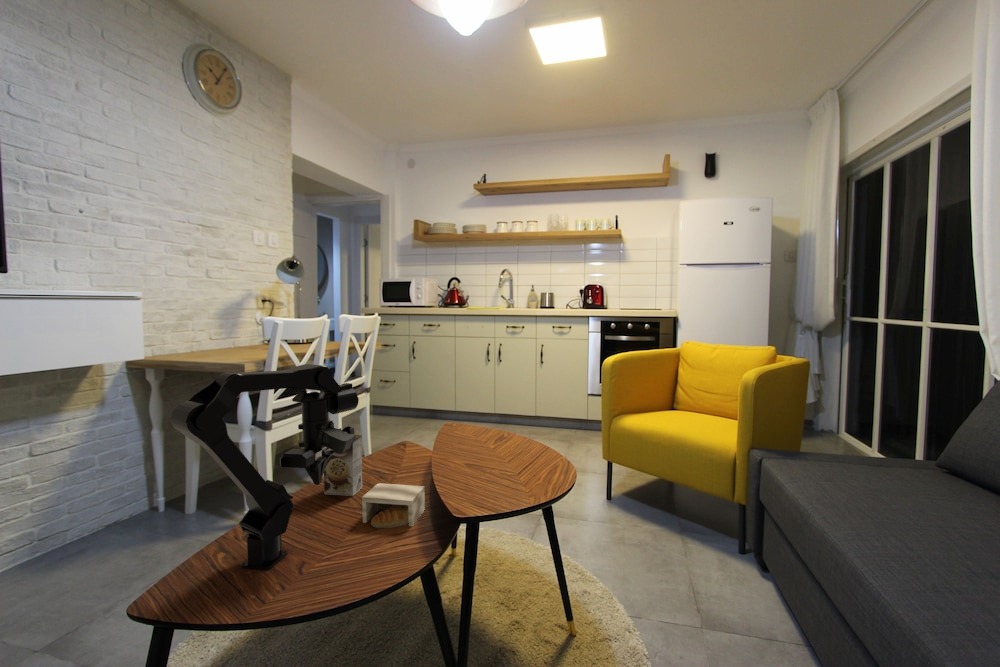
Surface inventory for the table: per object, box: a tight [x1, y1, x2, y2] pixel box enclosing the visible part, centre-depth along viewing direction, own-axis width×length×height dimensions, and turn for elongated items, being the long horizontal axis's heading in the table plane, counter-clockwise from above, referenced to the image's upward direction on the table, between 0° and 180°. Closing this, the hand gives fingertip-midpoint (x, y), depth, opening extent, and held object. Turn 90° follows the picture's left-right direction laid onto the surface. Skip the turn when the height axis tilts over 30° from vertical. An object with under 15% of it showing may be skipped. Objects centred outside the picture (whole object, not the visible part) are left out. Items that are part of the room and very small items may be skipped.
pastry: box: [370, 505, 409, 529], centre depth 111 cm, size 9×7×4 cm
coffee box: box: [323, 434, 363, 497], centre depth 130 cm, size 9×6×16 cm
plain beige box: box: [361, 483, 426, 527], centre depth 114 cm, size 9×13×6 cm
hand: (317, 484), depth 105 cm, fingers closed
